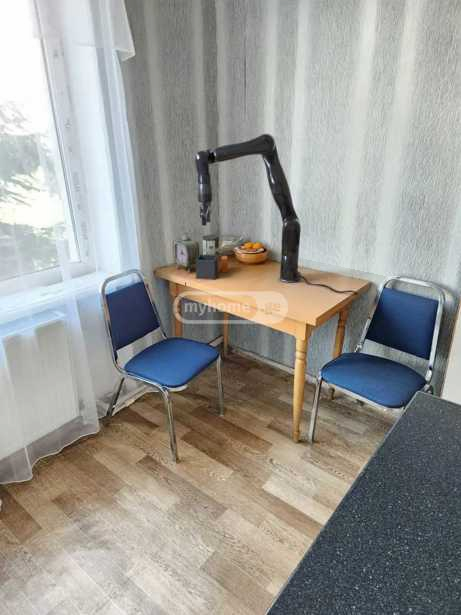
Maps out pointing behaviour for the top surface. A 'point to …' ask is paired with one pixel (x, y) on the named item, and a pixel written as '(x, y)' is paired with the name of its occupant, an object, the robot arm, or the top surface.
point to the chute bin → (206, 266)
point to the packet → (224, 263)
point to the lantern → (211, 245)
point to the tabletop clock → (185, 251)
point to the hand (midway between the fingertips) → (206, 223)
